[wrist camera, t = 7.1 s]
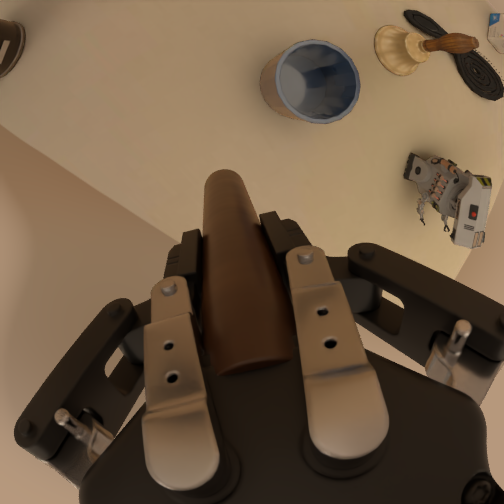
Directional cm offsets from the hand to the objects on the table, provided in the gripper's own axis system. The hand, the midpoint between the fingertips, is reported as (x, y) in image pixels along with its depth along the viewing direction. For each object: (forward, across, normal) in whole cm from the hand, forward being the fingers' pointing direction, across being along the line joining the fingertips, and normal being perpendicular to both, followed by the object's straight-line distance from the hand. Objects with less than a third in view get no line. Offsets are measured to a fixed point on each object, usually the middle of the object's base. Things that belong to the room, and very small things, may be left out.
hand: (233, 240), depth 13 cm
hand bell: (+25, -28, -12) cm, 40 cm away
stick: (+8, 0, 0) cm, 8 cm away
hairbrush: (+25, -42, -13) cm, 51 cm away
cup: (+25, -11, -7) cm, 28 cm away
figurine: (+25, -31, +10) cm, 42 cm away
